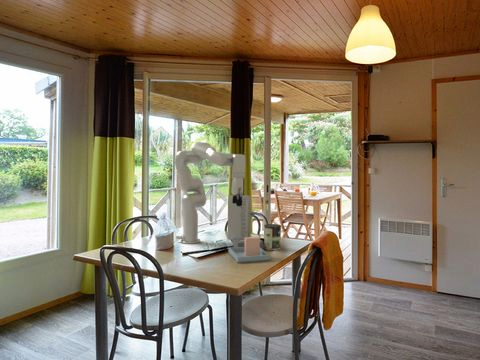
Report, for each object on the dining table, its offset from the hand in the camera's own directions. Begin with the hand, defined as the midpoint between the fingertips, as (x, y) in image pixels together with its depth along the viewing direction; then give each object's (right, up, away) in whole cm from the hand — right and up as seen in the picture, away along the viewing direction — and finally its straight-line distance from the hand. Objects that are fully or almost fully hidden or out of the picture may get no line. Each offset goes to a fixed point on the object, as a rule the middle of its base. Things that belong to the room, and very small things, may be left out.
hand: (237, 204), depth 196 cm
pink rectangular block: (+8, -28, -9) cm, 30 cm away
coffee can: (+22, -28, +11) cm, 37 cm away
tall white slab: (+1, -26, +33) cm, 42 cm away
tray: (+6, -28, -9) cm, 30 cm away
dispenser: (+6, -27, +10) cm, 30 cm away
